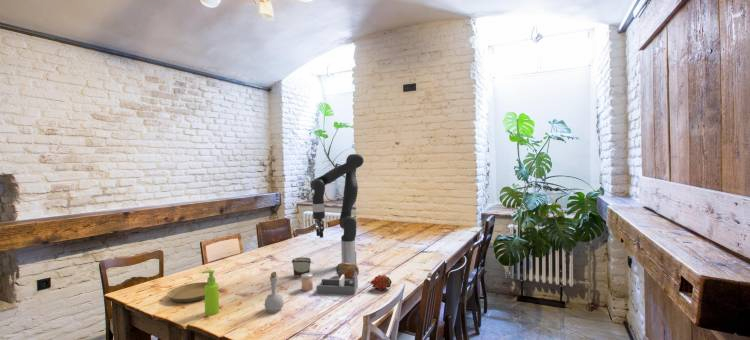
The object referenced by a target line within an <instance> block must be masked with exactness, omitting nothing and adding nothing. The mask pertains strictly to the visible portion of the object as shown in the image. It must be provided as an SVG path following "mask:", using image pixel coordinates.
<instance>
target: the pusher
mask: <svg viewBox="0 0 750 340" xmlns="http://www.w3.org/2000/svg"><path fill="white" fill-rule="evenodd" d="M339 277H340V276H339ZM344 280H345V277H344V275H343V274H342V276H341V277H340V278H339V286H344V285H345V283H344Z"/></svg>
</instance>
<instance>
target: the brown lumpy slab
mask: <svg viewBox="0 0 750 340" xmlns="http://www.w3.org/2000/svg"><path fill="white" fill-rule="evenodd" d="M355 272H357V277H359V273H360V270H359V266H358V265H355V264H349V263H342V262H340V263H338V264H337V265H336V274H337V275H338V276H339V277H341V276H342V274H343V275H344V279H350V280H353V276H354V274H355Z"/></svg>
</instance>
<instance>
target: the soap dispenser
mask: <svg viewBox="0 0 750 340" xmlns="http://www.w3.org/2000/svg"><path fill="white" fill-rule="evenodd" d="M215 272H216V271H215V270H212V269H209V270H203V271H202V272H201V274H206V273H207V274H208V277H206V278H207V280H206V282H207V285H205V286H204V287H205V299H204V314H206V315H205V316H208V315H211V316H215V315H217V314H219V313H220V303H219V302H220V301H219V299H220V297H219V283H216V277H215V276H214V273H215Z"/></svg>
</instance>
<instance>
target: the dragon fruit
mask: <svg viewBox="0 0 750 340" xmlns="http://www.w3.org/2000/svg"><path fill="white" fill-rule="evenodd" d="M392 283H393V281H392V279H390V277H389V276H387V275H385V274H382V275H381V274H378V275H377V276H375V277H374V279H372V280H371V281H370V282H369V284H370V285H372V288H373V289H377V290H379V291H382V290H384V291H385V290H387V288H391V285H392Z"/></svg>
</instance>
